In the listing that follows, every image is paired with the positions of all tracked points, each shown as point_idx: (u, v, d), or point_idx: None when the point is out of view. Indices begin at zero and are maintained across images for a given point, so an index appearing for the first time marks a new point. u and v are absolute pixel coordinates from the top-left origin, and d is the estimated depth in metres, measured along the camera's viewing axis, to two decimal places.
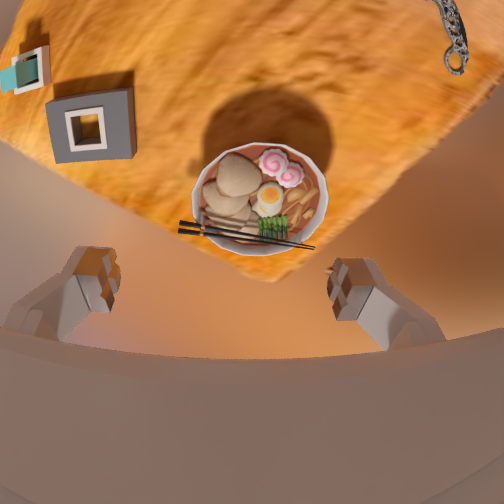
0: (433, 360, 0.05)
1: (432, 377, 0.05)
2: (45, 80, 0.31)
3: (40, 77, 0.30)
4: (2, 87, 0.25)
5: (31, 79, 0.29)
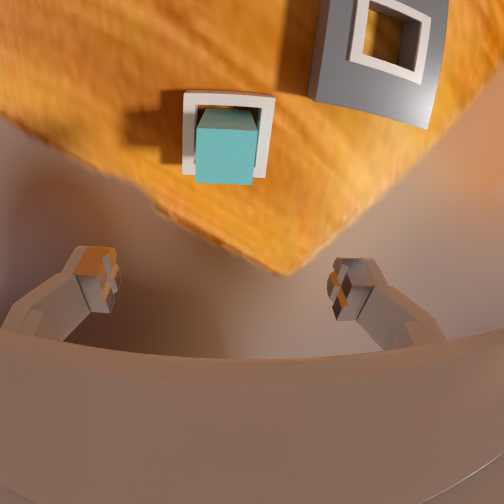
0: (433, 360, 0.05)
1: (432, 377, 0.05)
2: (262, 96, 0.22)
3: (253, 102, 0.21)
4: (239, 179, 0.20)
5: (249, 118, 0.21)
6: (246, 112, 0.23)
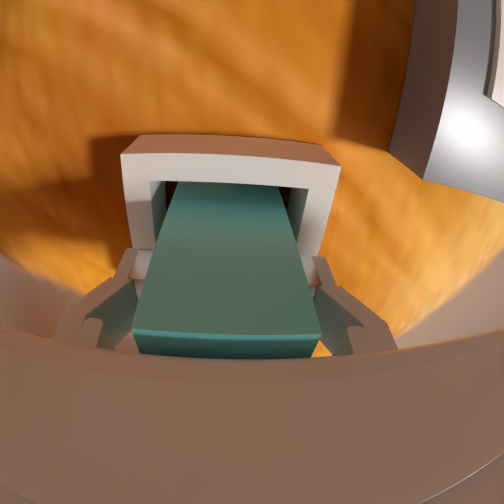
0: (433, 360, 0.05)
1: (432, 377, 0.05)
2: (308, 157, 0.10)
3: (288, 175, 0.09)
4: None
5: (282, 224, 0.09)
6: (269, 189, 0.11)
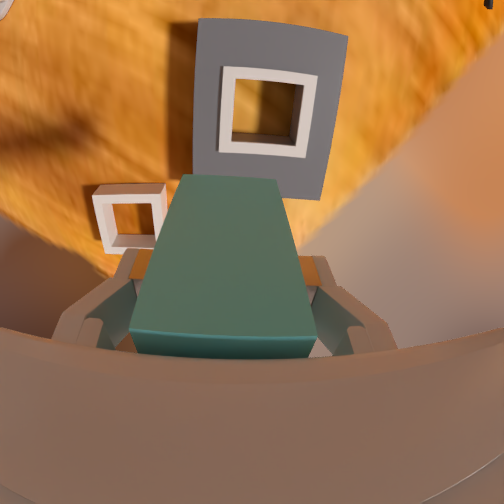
0: (433, 360, 0.05)
1: (432, 377, 0.05)
2: (152, 191, 0.27)
3: (143, 199, 0.26)
4: None
5: (281, 226, 0.09)
6: (269, 191, 0.11)
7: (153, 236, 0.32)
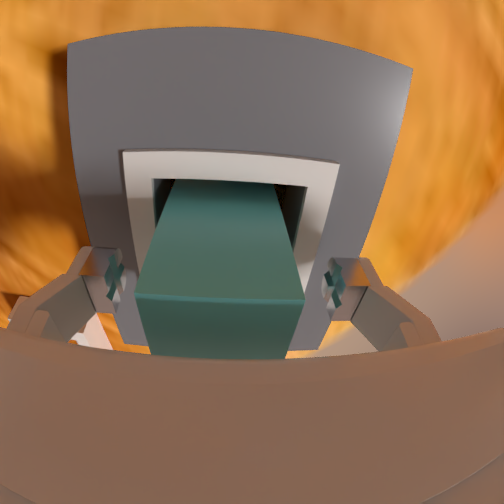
0: (433, 360, 0.05)
1: (432, 377, 0.05)
2: None
3: None
4: None
5: (273, 209, 0.10)
6: None
7: None
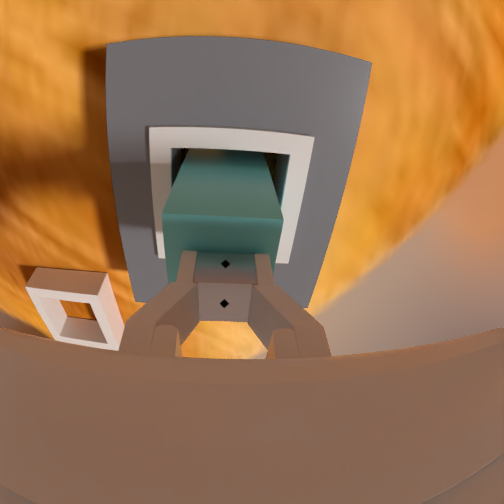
0: (433, 360, 0.05)
1: (432, 377, 0.05)
2: (89, 288, 0.19)
3: (79, 298, 0.19)
4: None
5: (263, 170, 0.13)
6: (256, 153, 0.15)
7: None
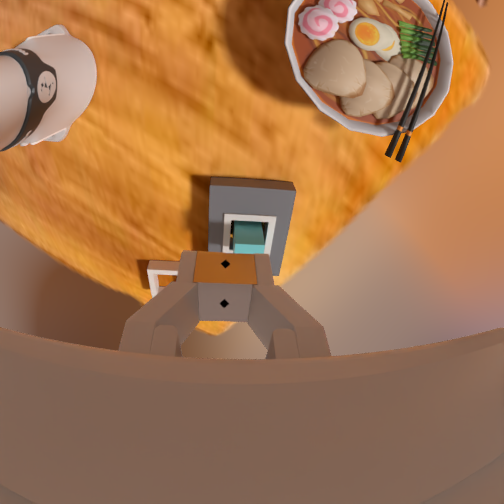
0: (433, 360, 0.05)
1: (432, 377, 0.05)
2: None
3: None
4: None
5: (260, 227, 0.42)
6: None
7: None
